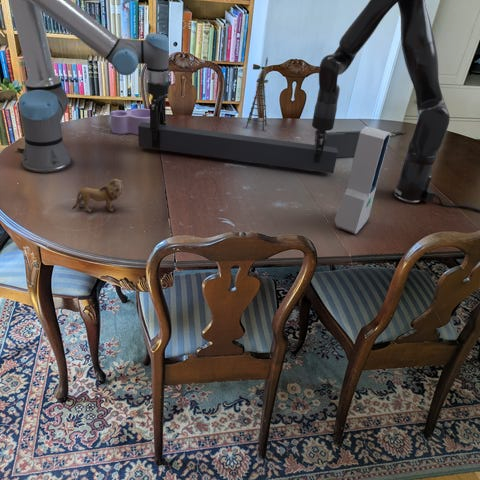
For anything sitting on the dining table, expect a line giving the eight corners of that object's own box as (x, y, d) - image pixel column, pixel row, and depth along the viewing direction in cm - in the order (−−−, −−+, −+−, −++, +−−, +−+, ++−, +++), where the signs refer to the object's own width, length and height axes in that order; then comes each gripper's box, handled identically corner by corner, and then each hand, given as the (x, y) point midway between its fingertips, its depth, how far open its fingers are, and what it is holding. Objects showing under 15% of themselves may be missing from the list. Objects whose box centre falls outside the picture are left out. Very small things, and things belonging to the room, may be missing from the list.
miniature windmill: (263, 130, 207) (272, 60, 191) (245, 127, 208) (252, 57, 192) (266, 124, 215) (275, 56, 199) (248, 121, 216) (256, 53, 200)
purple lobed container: (113, 135, 186) (112, 118, 182) (110, 125, 196) (109, 108, 192) (163, 134, 192) (163, 118, 189) (157, 124, 202) (157, 108, 198)
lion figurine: (122, 202, 142) (121, 175, 137) (125, 210, 138) (124, 183, 133) (71, 206, 137) (68, 178, 132) (73, 215, 133) (69, 187, 128)
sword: (401, 131, 224) (402, 128, 223) (406, 133, 222) (407, 131, 221) (358, 142, 208) (358, 140, 207) (363, 145, 206) (363, 142, 205)
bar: (138, 146, 175) (138, 126, 171) (142, 142, 179) (142, 121, 175) (333, 173, 171) (337, 152, 166) (332, 167, 175) (337, 147, 171)
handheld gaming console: (367, 153, 195) (373, 130, 190) (371, 156, 193) (377, 132, 188) (318, 155, 188) (323, 131, 183) (321, 158, 186) (326, 134, 181)
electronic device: (355, 236, 138) (381, 139, 122) (331, 227, 141) (354, 131, 125) (368, 219, 147) (394, 127, 131) (346, 211, 150) (369, 121, 134)
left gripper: (161, 89, 156) (161, 155, 168) (174, 77, 171) (173, 137, 184) (139, 87, 156) (141, 152, 169) (154, 74, 171) (155, 135, 184)
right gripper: (336, 122, 156) (326, 168, 165) (334, 109, 168) (325, 153, 177) (314, 119, 157) (305, 166, 166) (313, 107, 169) (306, 151, 178)
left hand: (158, 144), depth 176 cm, fingers closed on bar, 5 cm apart
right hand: (316, 159), depth 171 cm, fingers closed on bar, 5 cm apart
